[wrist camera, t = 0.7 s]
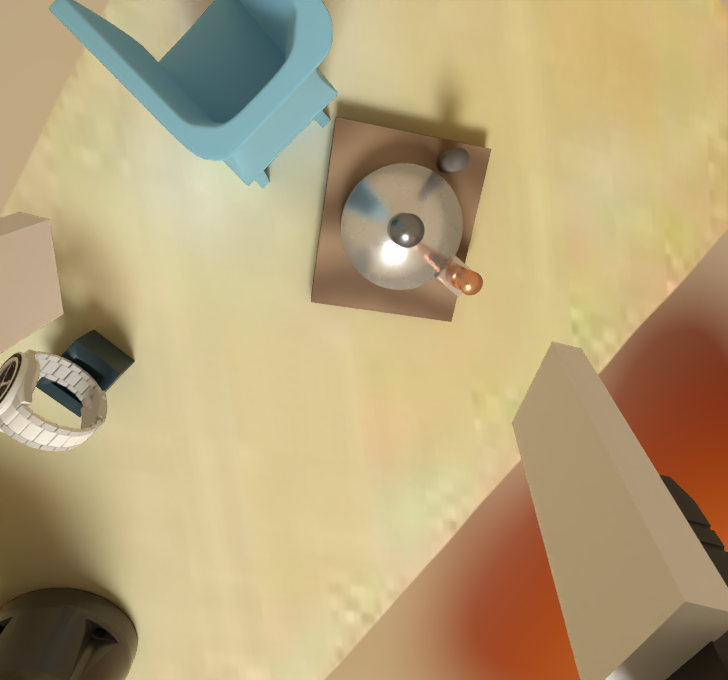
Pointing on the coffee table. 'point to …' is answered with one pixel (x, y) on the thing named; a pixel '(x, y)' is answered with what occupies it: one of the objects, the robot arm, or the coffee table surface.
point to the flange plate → (389, 202)
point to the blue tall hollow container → (225, 76)
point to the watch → (60, 390)
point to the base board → (353, 163)
